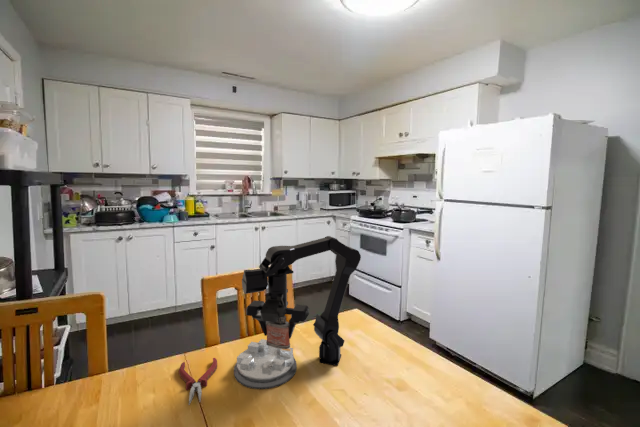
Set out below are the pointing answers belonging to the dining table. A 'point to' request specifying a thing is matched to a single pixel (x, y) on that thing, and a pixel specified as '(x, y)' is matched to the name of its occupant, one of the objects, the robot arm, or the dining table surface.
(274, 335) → the lighter
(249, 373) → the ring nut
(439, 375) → the dining table surface
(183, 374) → the pliers
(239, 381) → the base plate
